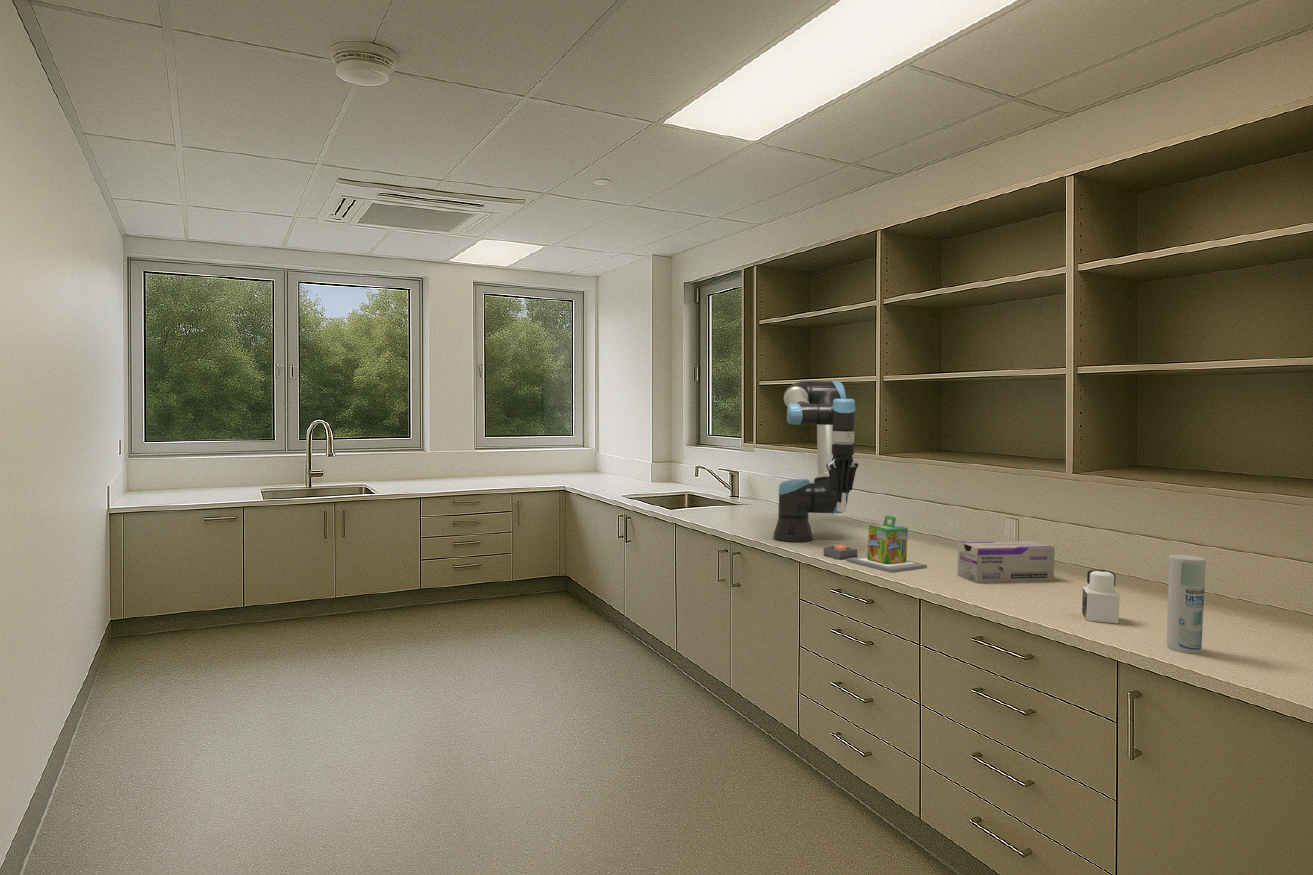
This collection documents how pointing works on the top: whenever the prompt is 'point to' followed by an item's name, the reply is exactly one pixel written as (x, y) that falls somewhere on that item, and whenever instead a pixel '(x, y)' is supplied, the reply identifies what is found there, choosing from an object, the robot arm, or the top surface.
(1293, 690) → the top surface
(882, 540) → the chalk box
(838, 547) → the button
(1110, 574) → the medicine bottle
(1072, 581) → the top surface
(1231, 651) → the top surface
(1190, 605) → the spray can
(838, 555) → the button housing
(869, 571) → the top surface
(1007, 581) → the surgical sutures box
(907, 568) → the board
